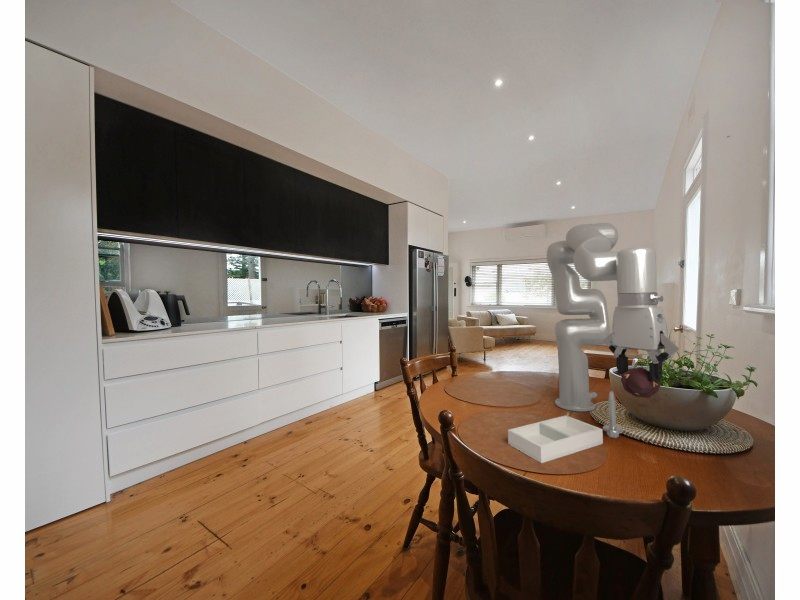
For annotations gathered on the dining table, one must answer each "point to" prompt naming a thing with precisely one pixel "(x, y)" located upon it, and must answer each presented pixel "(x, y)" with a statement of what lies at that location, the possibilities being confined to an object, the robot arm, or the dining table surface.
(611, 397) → the screw
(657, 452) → the dining table surface
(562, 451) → the white divided tray
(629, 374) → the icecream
